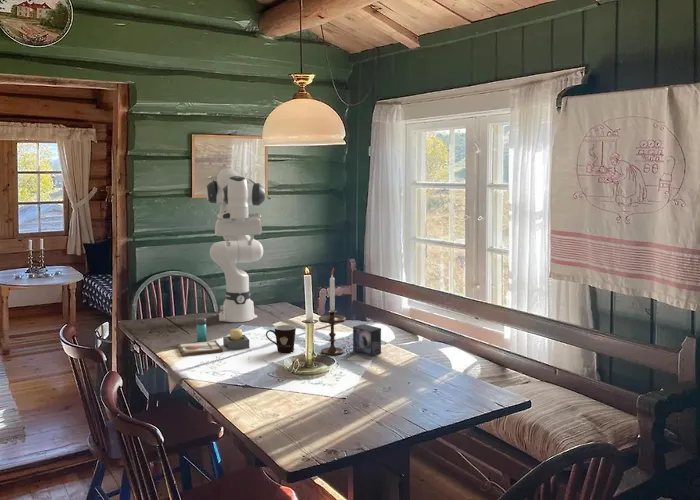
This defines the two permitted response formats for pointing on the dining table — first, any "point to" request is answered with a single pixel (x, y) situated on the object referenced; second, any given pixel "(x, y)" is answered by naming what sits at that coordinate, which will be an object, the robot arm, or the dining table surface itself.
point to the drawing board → (199, 348)
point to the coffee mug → (284, 338)
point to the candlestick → (332, 322)
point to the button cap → (236, 334)
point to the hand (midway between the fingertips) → (239, 245)
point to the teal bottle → (201, 329)
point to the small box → (367, 339)
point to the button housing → (236, 343)
